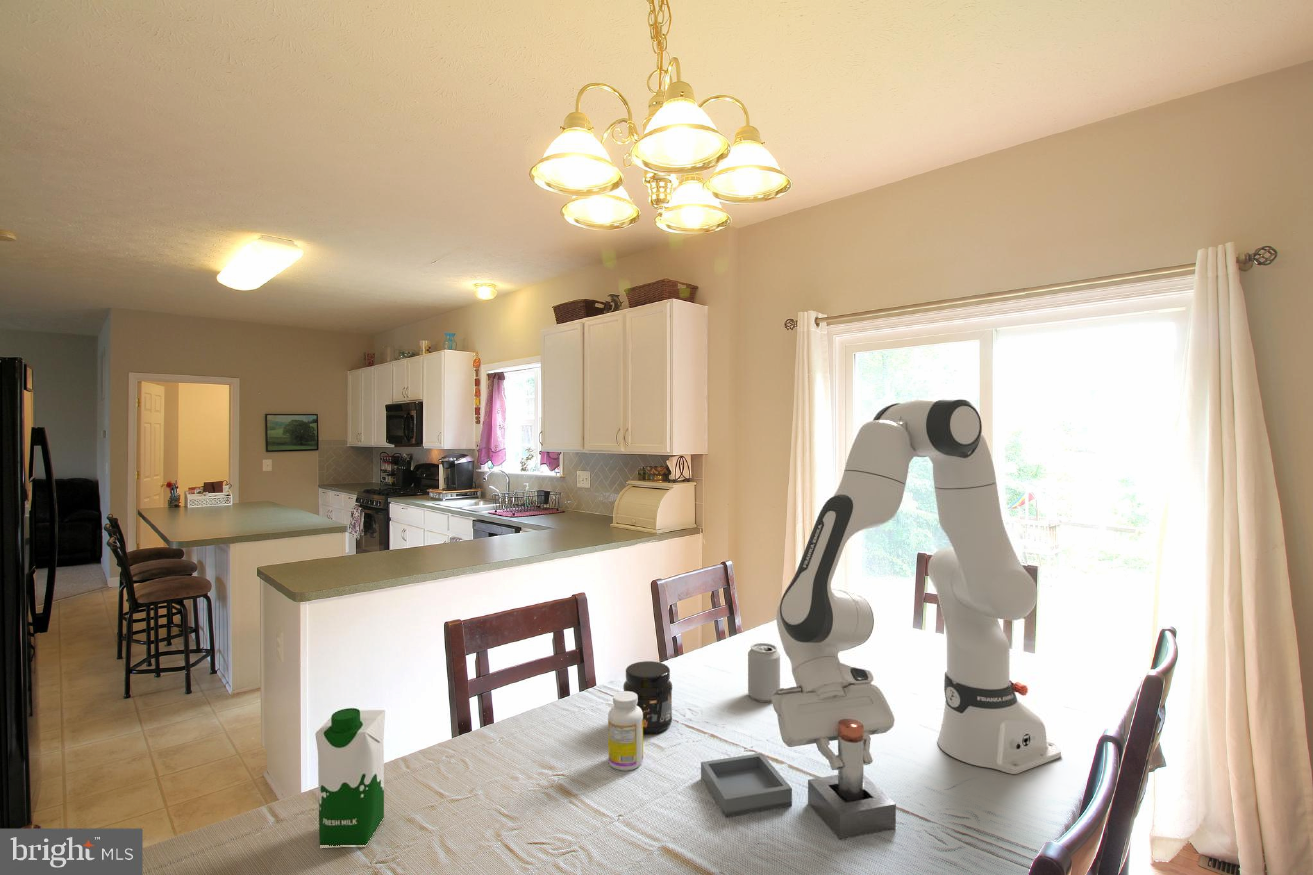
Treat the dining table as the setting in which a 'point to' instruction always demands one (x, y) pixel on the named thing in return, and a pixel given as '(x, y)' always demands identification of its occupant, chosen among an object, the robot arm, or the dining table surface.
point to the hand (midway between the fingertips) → (852, 766)
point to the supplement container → (651, 693)
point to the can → (763, 671)
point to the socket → (851, 808)
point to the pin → (850, 760)
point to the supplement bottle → (625, 732)
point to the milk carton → (350, 776)
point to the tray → (745, 784)
